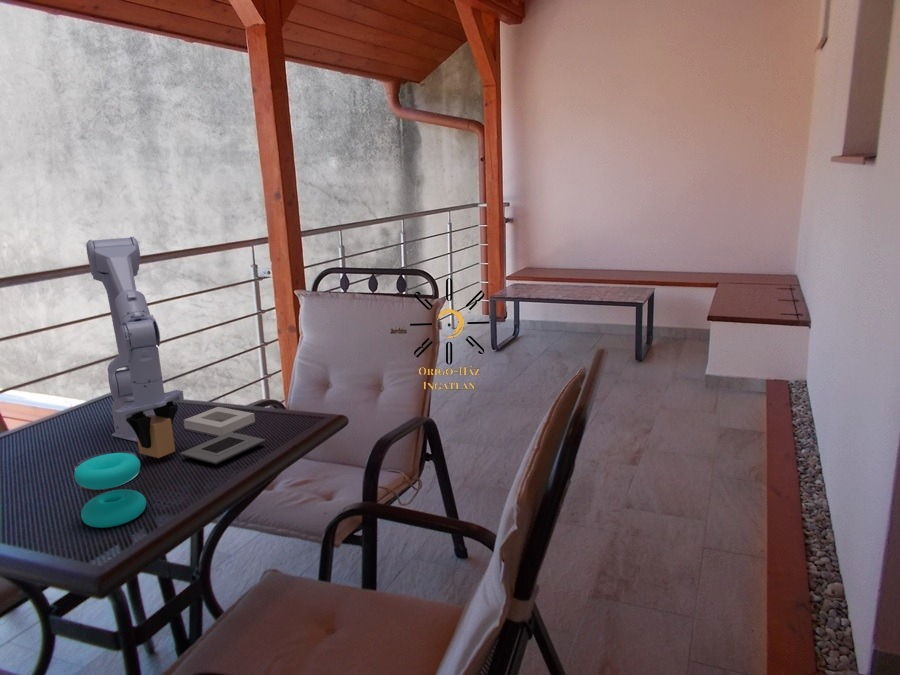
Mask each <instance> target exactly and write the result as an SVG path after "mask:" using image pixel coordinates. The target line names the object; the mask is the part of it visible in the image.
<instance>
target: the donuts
mask: <svg viewBox="0 0 900 675" xmlns="http://www.w3.org/2000/svg"><path fill="white" fill-rule="evenodd" d="M140 469H141V461H140V459H139V457H137V456H136V455H134V454H132V453H128V452H127V453H126V452H114V453H107V454H101V455H98V456H94V457H92V458H89V459H86V460H85V461H83V462H81V463H80V464H79V465H78V466H77V467H76V469H74V470H75V471H74V473H73V474H74V475H73V476H74V481H75V482H76V483H77V485H79V486H80V487H82V488H86V489H88V490H89V489H90V490H106V489H112V488H115V487H116V488H117V487H119V486H121V485H124V484H126V483H128V482H129V481H131V480H132V479H133V478H135V477H136V476H137V475H138V473H139V472H140ZM146 507H147V500H146V497H145V496H144V495H143V494H142V493H141V492H139V491H137V490H134V489H126V488H124V489H123V488H119V489H113V490H108V491H105V492H102V493H99V494H97V495H96V496H94V497H92V498H91V499H90V500H88V501H87V502H86V503H85V504H84V506H83V507H82V509H81V511H80V512H81V513H80V514H81V515H80V518H81V520H82V522H83V523H84V524H85V525H87V526H89V527H92V528H97V529H98V528H99V529H103V528H113V527H116V526H121V525H124V524H127V523H130V522H131V521H133V520H135V519H136V518H138V517H140V516H141V514H143V512H144V511H145V509H146Z"/></svg>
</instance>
